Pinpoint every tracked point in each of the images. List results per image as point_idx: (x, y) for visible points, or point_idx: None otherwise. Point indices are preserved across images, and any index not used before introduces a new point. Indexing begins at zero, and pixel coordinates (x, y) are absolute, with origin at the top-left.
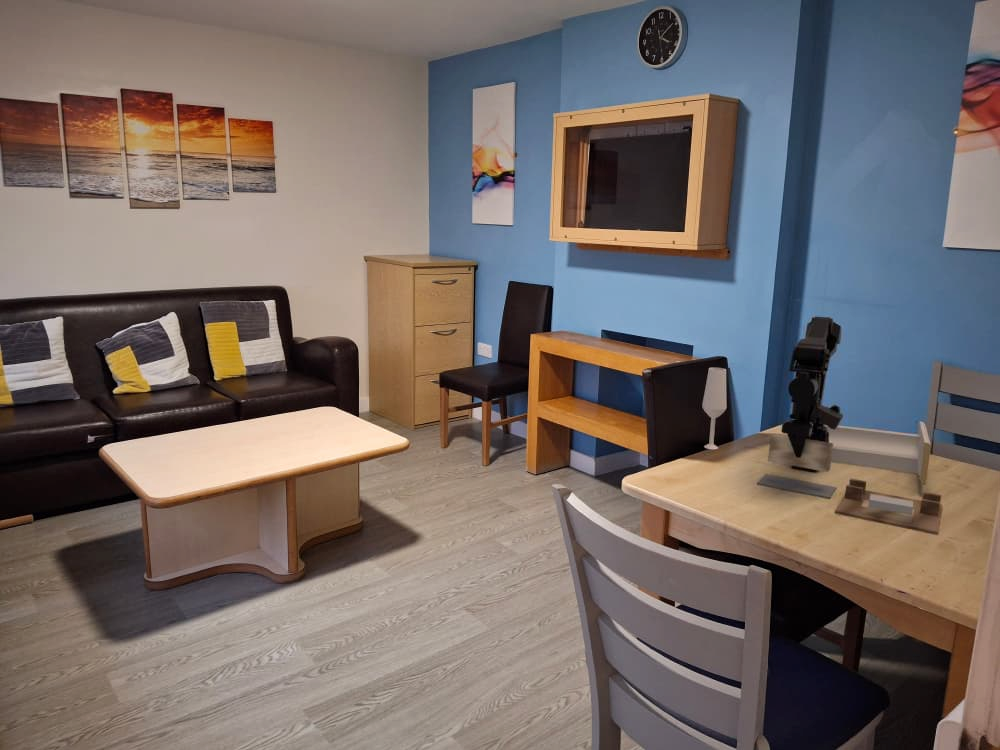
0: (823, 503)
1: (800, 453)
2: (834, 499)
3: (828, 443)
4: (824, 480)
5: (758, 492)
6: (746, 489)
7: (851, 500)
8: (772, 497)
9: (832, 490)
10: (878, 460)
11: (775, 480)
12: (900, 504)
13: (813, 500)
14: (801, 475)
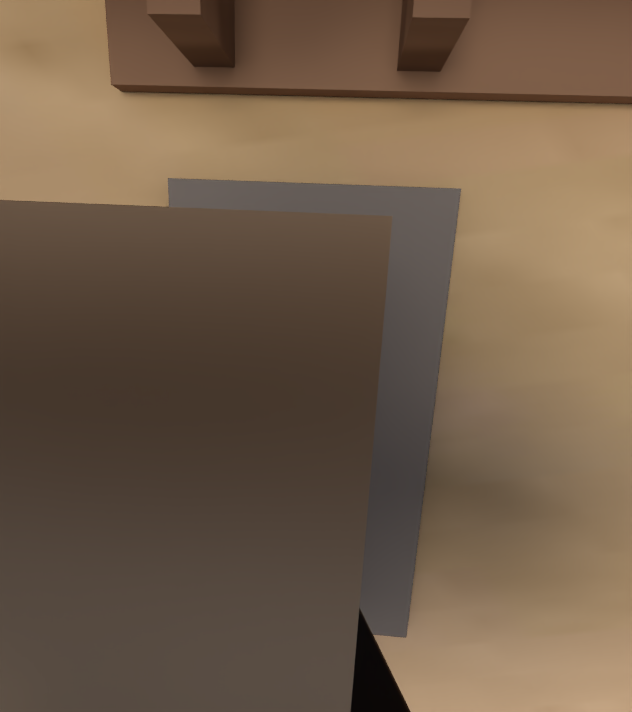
0: (593, 219)
1: (379, 664)
2: (447, 157)
3: (32, 359)
4: None
5: (560, 603)
6: (536, 660)
7: (480, 4)
8: (623, 527)
9: (272, 195)
10: None
11: None
12: None
13: (555, 293)
14: None
